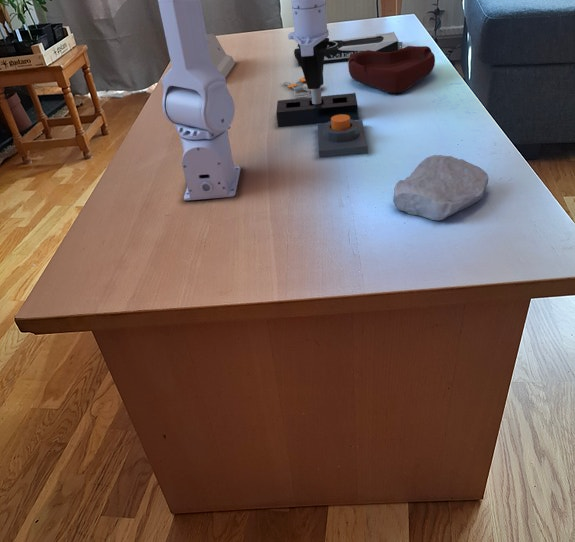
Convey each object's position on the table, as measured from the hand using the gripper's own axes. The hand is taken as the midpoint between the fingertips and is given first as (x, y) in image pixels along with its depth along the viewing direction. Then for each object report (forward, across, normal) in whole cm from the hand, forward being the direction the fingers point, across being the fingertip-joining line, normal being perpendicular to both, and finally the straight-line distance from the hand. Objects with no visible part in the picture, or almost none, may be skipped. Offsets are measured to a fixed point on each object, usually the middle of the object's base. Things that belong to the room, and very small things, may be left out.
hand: (315, 84), depth 101 cm
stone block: (+6, +32, +21) cm, 39 cm away
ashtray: (+6, -17, +14) cm, 23 cm away
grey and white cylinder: (+3, 0, 0) cm, 3 cm away
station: (+6, +12, +5) cm, 14 cm away
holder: (+6, 0, 0) cm, 6 cm away
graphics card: (+6, -39, +4) cm, 39 cm away
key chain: (+6, -18, -5) cm, 19 cm away
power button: (+4, +11, +5) cm, 13 cm away
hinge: (+6, -30, -29) cm, 42 cm away
